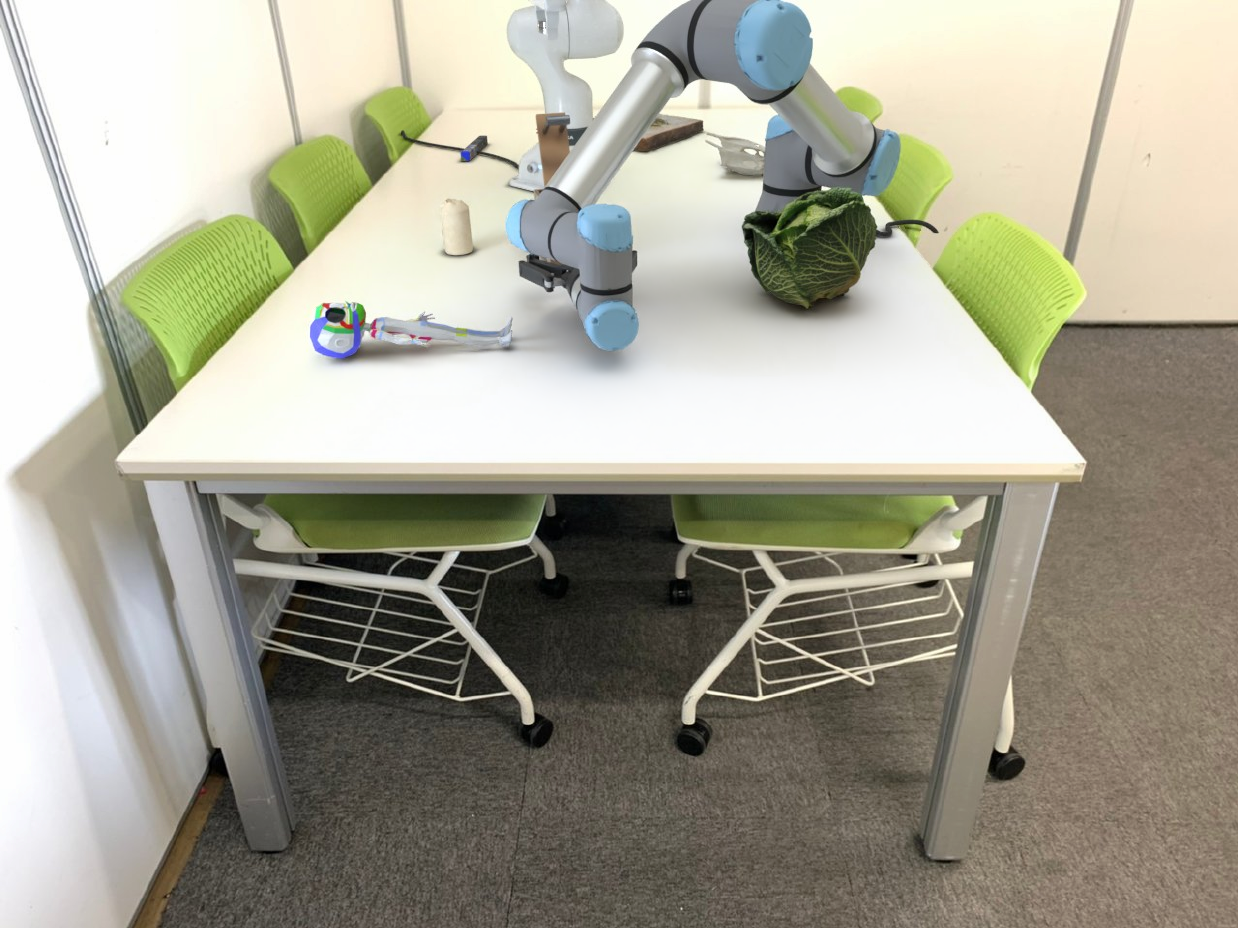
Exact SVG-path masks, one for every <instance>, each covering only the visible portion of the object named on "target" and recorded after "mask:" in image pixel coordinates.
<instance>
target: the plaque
mask: <svg viewBox="0 0 1238 928" xmlns="http://www.w3.org/2000/svg"><path fill="white" fill-rule="evenodd" d="M595 117H596V115H594V117H593V119H594V118H595ZM704 130H705V129H704V120H702V119H698V118H693V117H685V116H679V115H669V114H663V113H659V115H658V116H657V117H656V119H655V120H654V122H653V123H652V124H651V126H650V127H649V129H648V130H647V132H646V133H645V134H644V136H643V137H642V139H641V140H640V141H639V143H638V144H637V146H636V147H635V148H634V150H633V151H640V152H648V151H654V150H656V149H659V148H662V147H663V146H664V147H665V146H667V145H670V144H672V143H676V142H680V141H682V140H684V139H687V138H691V137H692V136H694V135H696V134H698V133H700V132H704Z"/></svg>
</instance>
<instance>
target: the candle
mask: <svg viewBox="0 0 1238 928" xmlns="http://www.w3.org/2000/svg"><path fill="white" fill-rule="evenodd" d="M470 213H471V212H470V206H469V205H468V204H467V203H466V202H464V201H463V200H462V199H456V198H446V200H444V202H443V203H442V204H441V206H440V207H439V214H440V215H439V216H440V223H441V230H442V231H441V232H442V238H443V239H442V240H443V247H444V252H445V254H447V255H451V256H463V255H467V254H470V253H472V252H473V250H474V244H473V243H474V242H473V233H472V225H471V224H472V223H471V215H470Z"/></svg>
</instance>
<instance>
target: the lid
mask: <svg viewBox="0 0 1238 928" xmlns="http://www.w3.org/2000/svg"><path fill="white" fill-rule="evenodd" d="M535 124H536V129H537V130H536V132H538V134H537V140H538V142H539V149H540V157H541V165H542V173H543V181H544V188H545V186H546V185H547V183H548V182H549V181H550V179H551V178H552V177H553V175H554V174H555V172H556V171H557V170H558V168H559V167H560V165H561V164H562V163H563V161H564V160H565V158H566V157H567V156H568V154H569V153H570V149H569V141H568V133H567V125H569V124H570V116H569V115H565V112H563V113H548V114H545V113H536V114H535Z"/></svg>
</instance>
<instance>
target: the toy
mask: <svg viewBox="0 0 1238 928" xmlns="http://www.w3.org/2000/svg"><path fill="white" fill-rule="evenodd" d="M344 302H345V303H343V302H323V303H321V304H319V305H318V306H317V307H316V308H315V310H314V313H313V315H312V317H311V320H310V322H309V323H308V335H307V336H308V339H309V340H310V343H311V344H312V347H313V349H314V351H315V352H317V353H318V354H320V355H323V356H325V357H328V358H329V357H330V358H335V359H343V360H344V359H345V358H347V357H350V356H352V355H354V354H355V353H356V352H357V350H359V348H360V347H361V345H362V340H363V338H364V337H365V332H368V334H369V336H370V338H372V339H374V340H383V341H385V342H389V343H393V344H396V345H402V346H403V345H404V346H405V345H406V346H407V345H416V346H422V347H425V348H429V346H431V344H430V343H428V342H430V341H432V340H436V341H446V342H447V341H448V342H456V343H457V342H458V343H462V344H465V345H467V346H471V347H472V346H473V347H477V346H478V347H480V346H481V347H482V346H490V345H491V346H492V345H501V346H503V347H506V348H508V347H510V344H511V342H513V341H512V340H513V330H512V325H513V317H512V316H510V318H509V321H508V323H507V325H506V326H505V327H503V328H502V329H500V330H489V331H488V330H478V329H471V328H464V327H454V326H450V325H447V324H443V323H436V322H431V321H429V320H436V317H430V316H433V313H430V314H427V315H425V314H426V311H423V312H422V313H420V314H419V315H418V317H417V318H412V319H407V320H404V319H397V318H393V317H389V316H380V317H375V318H374V319H373V320H372V322H371V323H370V322H366V321H367V319H366V318H367V312H366V310H365V309H366V308H365V307H364V305H363V304H361V303H359V302H356V301H352V302H351V303H350V302H348V301H346V300H345V301H344ZM399 335H406V336H408V337H405V336H404V337H403V336H399ZM409 337H410V338H409Z"/></svg>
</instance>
